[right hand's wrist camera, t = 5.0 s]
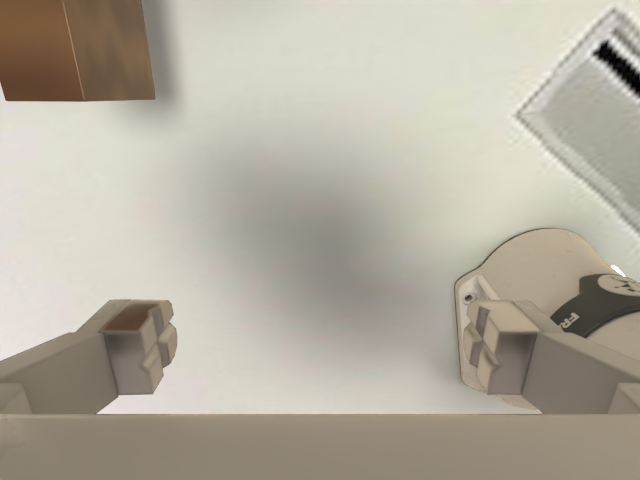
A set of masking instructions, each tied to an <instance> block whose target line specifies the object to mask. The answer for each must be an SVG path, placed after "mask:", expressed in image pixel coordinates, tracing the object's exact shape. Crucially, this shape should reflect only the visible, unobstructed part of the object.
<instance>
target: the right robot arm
mask: <svg viewBox="0 0 640 480" xmlns="http://www.w3.org/2000/svg"><path fill="white" fill-rule="evenodd" d="M467 295H470V296H469V297H468V298H465V297H466V296H467ZM455 298H456V312H457V326H458V339H459V353H460V367H461V377H462V380H463V381H464V382H465V384H466V385H468V386H469V387H471V388H473V389H475V390H478V391H481V392H485V393H487V394H495V395H496V396H497V397H498V398H499V399H500V400H502V401H503V402H505V403H507V404H509V405H512V406H515V407H520V408H525V409H534V410H540V411H541V412H542V414H96V413H98V412H99V411H100V410H102V409H103V408H104V407H106V406H107V405H108V404H109V403H111V402H112V401H113V400H115V399H116V398H117V397H118V395H141V394H153V393H154V391H155V390H156V388H157V386H158V384H159V383H160V381H161V379H162V377H163V376H164V374H163V368H164V367H166V366H167V365H169V364H170V363H171V362H172V360H173V358H174V356H175V352H176V348H177V332H176V328H175V327H174V326H173V325H172V324H171V323H170V322H169V321H170V320H171V318H172V316H173V315H174V314H173V309H172V304H171V303H170V302H169V301H168V300H131V299H116V300H109V301H108V302H107V303H106V304H105V305H104V306H103V307H102V308H101V309H100V310H99V311H97V312H96V313H95V314H94V315H93V316H92V317H91V318H90V319H89V320H88V321H87V322H86V323H85V324H84V325H82V326H81V327H80V328H79V329H78V330H77V331H76V332H75V333H67V334H64V335H62V336H59V337H57V338H55V339H52V340H50V341H47V342H45V343H43V344H40V345H38V346H35V347H33V348H31V349H28V350H26V351H23V352H21V353H19V354H16V355H14V356H11V357H9V358H7V359H4V360H2V361H0V480H640V283H638V282H636V281H634V280H632V279H629V278H627V277H625V276H624V274H623V273H622V272H621V271H620V270H619V269H618V268H617V267H616V266H614V265H612V266H610V265H609V264H608V263H607V262H605V261H604V260H603V259H602V258H601V256H600V255H599V254H598V253H597V252H596V251H595V249H594V248H593V247H592V245H591V244H590V243H589V242H588V241H587V240H585V239H584V238H583V237H581V236H579V235H578V234H575V233H573V232H570V231H567V230H562V229H539V230H534V231H530V232H527V233H524V234H521V235H519V236H517V237H515V238H513V239H511V240H509V241H508V242H506V243H505V244H503V245H502V246H500V247H499V248H498V249H497V250H496V251H495V252H494V253H493V254H492V255H491V256H490V257H489V258H488V259H487V260H486V261H485V262H484V263H483V264H482V265H481V266H480V267H479V268H478V269H476V270H474V271H472V272H470V273H468V274H466V275H465V276H463V277H462V278H460V279H459V280H458V281H457V283H456V285H455Z"/></svg>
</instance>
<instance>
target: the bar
mask: <svg viewBox="0 0 640 480" xmlns="http://www.w3.org/2000/svg"><path fill="white" fill-rule="evenodd" d="M0 82H1V86H2V89H3V93H4V96H5V100H6V101H119V100H154V99H156V98H155V91H154V84H153V78H152V71H151V64H150V58H149V51H148V44H147V38H146V31H145V24H144V18H143V11H142V4H141V0H0Z"/></svg>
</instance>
